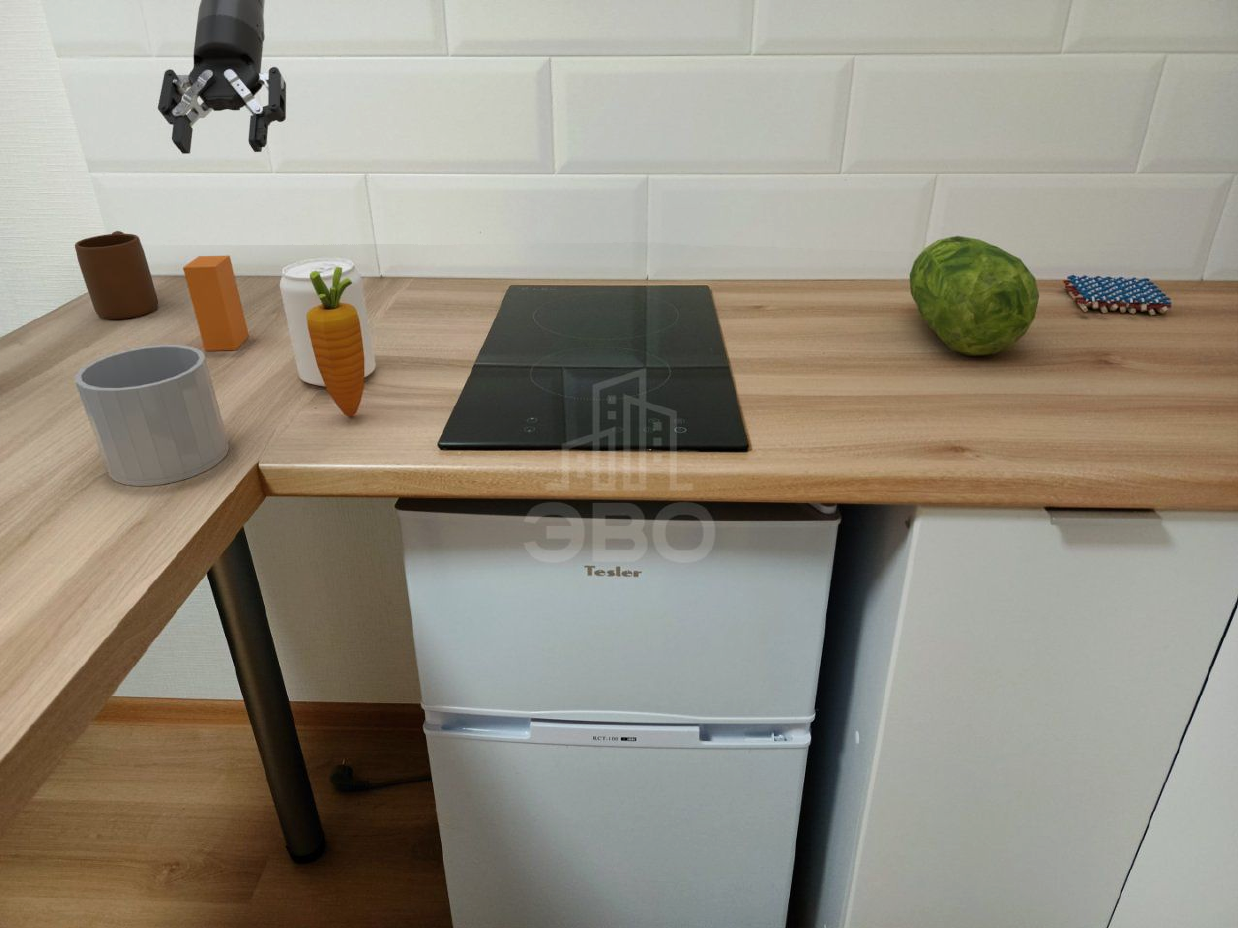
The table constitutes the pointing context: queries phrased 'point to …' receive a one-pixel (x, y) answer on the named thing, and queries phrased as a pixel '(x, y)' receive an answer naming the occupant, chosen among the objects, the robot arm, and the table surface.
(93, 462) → the table surface
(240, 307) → the orange rectangular prism
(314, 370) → the beverage can
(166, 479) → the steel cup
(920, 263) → the lettuce
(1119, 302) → the woven mat
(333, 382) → the carrot
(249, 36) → the robot arm
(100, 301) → the mug
